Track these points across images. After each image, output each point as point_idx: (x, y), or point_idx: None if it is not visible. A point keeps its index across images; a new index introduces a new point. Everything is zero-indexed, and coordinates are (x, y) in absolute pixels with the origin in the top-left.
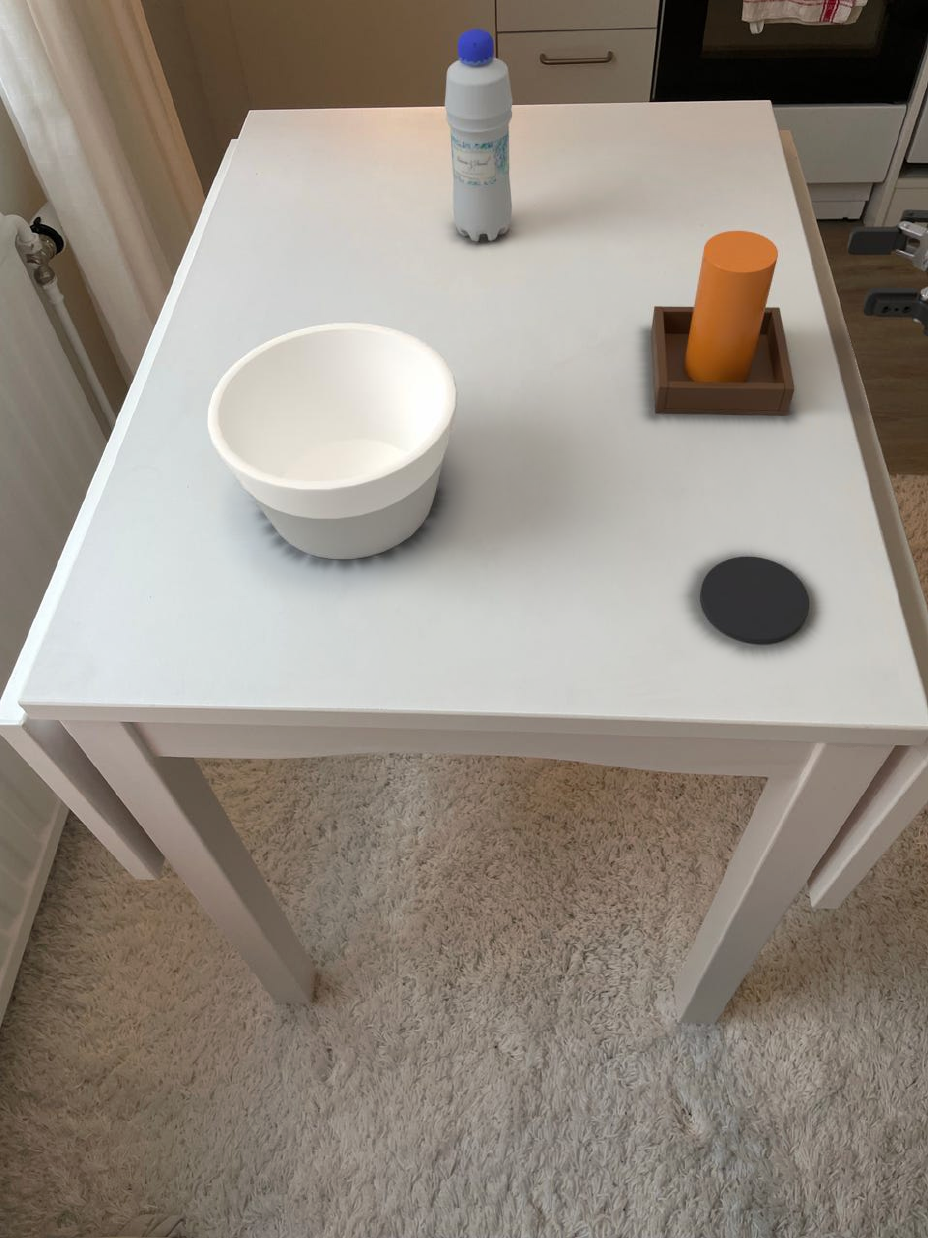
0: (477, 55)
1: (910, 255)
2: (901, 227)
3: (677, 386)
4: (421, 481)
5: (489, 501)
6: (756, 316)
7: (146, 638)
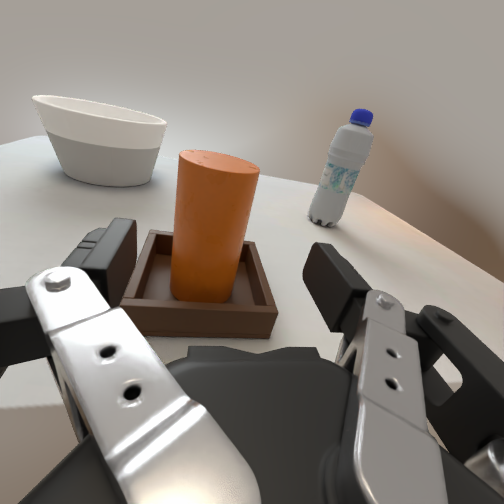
0: (353, 116)
1: (338, 360)
2: (368, 291)
3: (147, 236)
4: (52, 130)
5: (85, 195)
6: (182, 225)
7: (51, 144)
